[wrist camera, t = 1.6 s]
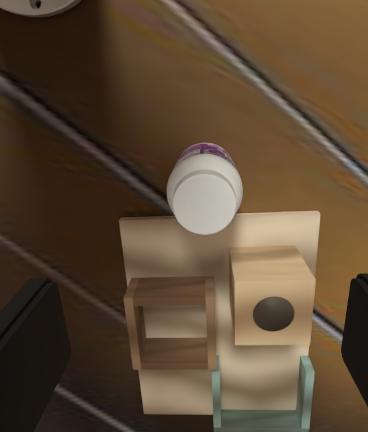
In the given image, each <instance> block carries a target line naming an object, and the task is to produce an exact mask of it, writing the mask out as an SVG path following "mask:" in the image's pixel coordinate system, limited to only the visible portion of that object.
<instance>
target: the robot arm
mask: <svg viewBox="0 0 368 432" xmlns="http://www.w3.org/2000/svg"><path fill="white" fill-rule="evenodd" d="M80 1H82V0H0V8H2V9H4V10H6V11H9V12H11V13H14V14H17V15H22V16H27V17H49V16H53V15H57V14H61V13H63V12H65V11H67V10H69V9H71V8H72V7H74V6H76V5H77V4H78V3H79V2H80ZM39 2H41V6H40V8H39V7H38V3H39ZM70 353H71V349H70V344H69V339H68V334H67V329H66V324H65V319H64V314H63V309H62V305H61V300H60V295H59V290H58V286H57V284H56V283H53V282H52V280H51V279H50V278H33V279H30V280H29V281H28V282H27V283H26V284H25V286H24V287H23V288H22V289H21V290H20V291H19V292H18V293H17V294H16V295H15V296H14V298H13V299H12V300H11V301H10V302H9V303H8V304H7V305H6V306H5V307H4V308H3V310H2V311H1V312H0V432H33V431H34V429H35V427H36V425H37V423H38V421H39V419H40V417H41V415H42V413H43V411H44V409H45V407H46V405H47V403H48V401H49V399H50V397H51V395H52V393H53V391H54V389H55V387H56V385H57V383H58V381H59V379H60V377H61V375H62V373H63V371H64V369H65V367H66V365H67V363H68V361H69V358H70ZM341 353H342V358H343V360H344V363H345V364H346V366H347V368H348V370H349V372H350V374H351V376H352V378H353V380H354V382H355V384H356V385H357V387H358V389H359V391H360V393H361V395H362V397H363V399H364V401H365V403H366V405H367V406H368V274H358V275H357V277H356V278H353V279H352V280H351V283H350V291H349V298H348V305H347V312H346V319H345V326H344V333H343V340H342V347H341Z"/></svg>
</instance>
